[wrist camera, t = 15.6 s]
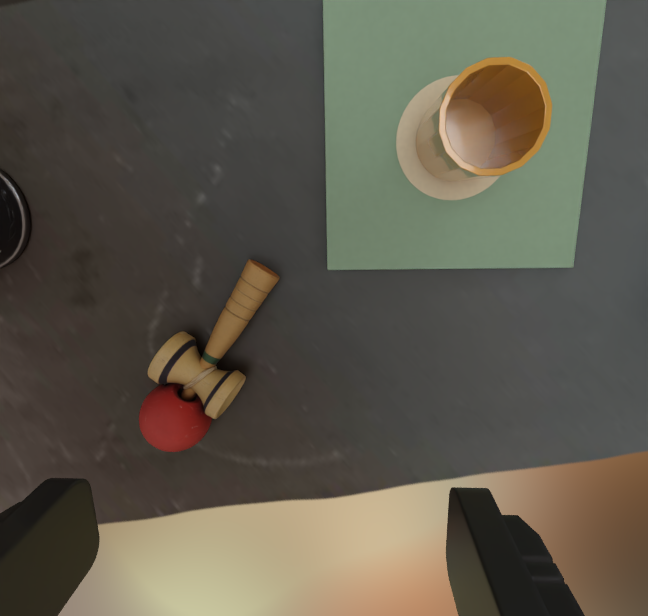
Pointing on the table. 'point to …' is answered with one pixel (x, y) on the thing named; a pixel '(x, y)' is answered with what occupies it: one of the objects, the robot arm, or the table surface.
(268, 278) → the kendama
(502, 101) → the cup
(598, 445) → the table surface
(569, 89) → the mat
